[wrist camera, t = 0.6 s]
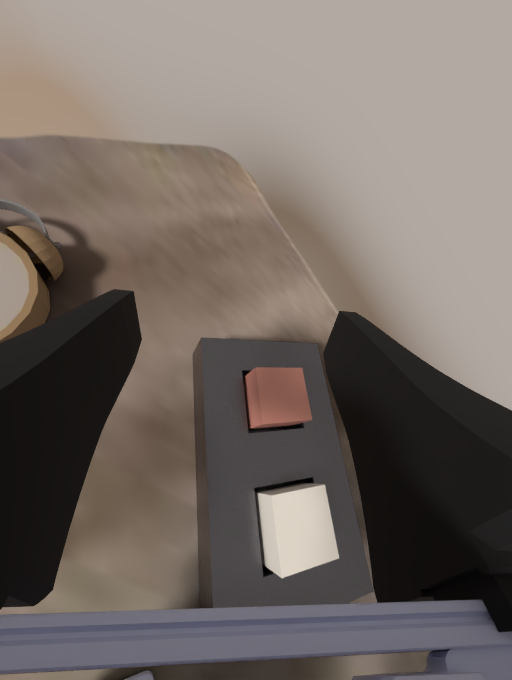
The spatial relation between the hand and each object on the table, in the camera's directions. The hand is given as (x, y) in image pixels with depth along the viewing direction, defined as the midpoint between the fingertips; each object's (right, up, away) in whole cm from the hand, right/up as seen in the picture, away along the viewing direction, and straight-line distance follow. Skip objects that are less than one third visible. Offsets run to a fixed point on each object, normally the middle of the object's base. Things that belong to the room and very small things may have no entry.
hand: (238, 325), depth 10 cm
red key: (+2, -6, +14) cm, 15 cm away
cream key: (+3, -14, +11) cm, 18 cm away
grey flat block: (+1, -11, +15) cm, 19 cm away
